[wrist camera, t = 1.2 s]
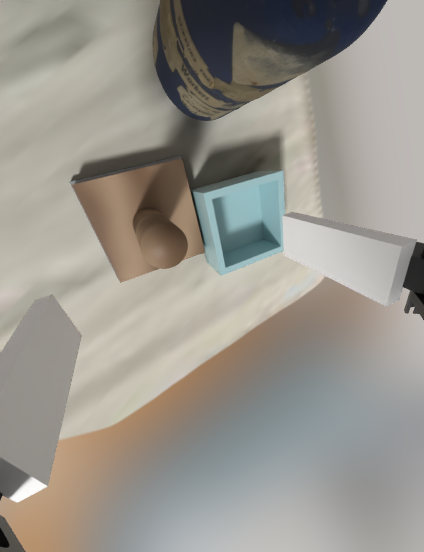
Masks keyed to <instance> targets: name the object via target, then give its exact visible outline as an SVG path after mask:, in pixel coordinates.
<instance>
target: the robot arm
mask: <svg viewBox="0 0 424 552" xmlns="http://www.w3.org/2000/svg"><path fill="white" fill-rule="evenodd" d="M282 221H283V246H284V256H286V257H288V258H290V259H292V260H294V261H296V262H298V263H300V264H302V265H304V266H306V267H308V268H310V269H312V270H314V271H316V272H318V273H320V274H322V275H324V276H326V277H328V278H330V279H332V280H334V281H336V282H338V283H341V284H342V285H344V286H347V287H348V288H350V289H353V290H354V291H356V292H359V293H360V294H363V295H364V296H366V297H368V298H371V299H372V300H374V301H376V302H378V303H380V304H382V305H385V306H388V305H390V304H392V303H394V302H396V301H398V300H399V299H400V295H401V292H402V288H403V287H404V288H407V289H409V290H410V294H409V296H408V300H407V303H406V306H405V309H404V311H405V313H409V310H410V307H415V309H414V311H413V313H414V314H420V315H421V317H422V318H423V320H424V243H419V242H416V240H415V239H411V238H406V237H402V236H398V235H393V234H389V233H384V232H379V231H375V230H371V229H366V228H361V227H357V226H353V225H348V224H344V223H340V222H335V221H331V220H326V219H322V218H317V217H313V216H308V215H304V214H299V213H295V212H291V213H288V214H285V215H282ZM81 336H82V335H81V334H80V332H79V331H78V330H77V328H76V327H75V325H74V324H73V323H72V321H71V320H70V318H69V317H68V316H67V314H66V313H65V311H64V310H63V309H62V307H61V306H60V304H59V303H58V302H57V300H56V299H55V297H54V296H53V295H49V296H47V297H44V298H41V299H38V300H35V301H34V303H33V304H32V306H31V307H30V309H29V310H28V312H27V313H26V315H25V316H24V318H23V319H22V321H21V322H20V324H19V326H18V327H17V329H16V330H15V332H14V333H13V335H12V336H11V338H10V339H9V341H8V342H7V344H6V345H5V347H4V349H3V350H2V352H1V353H0V500H1V497H2V495H3V496H5V497H7V498H9V499H11V500H13V501H15V502H19V501H21V500H23V499H25V498H27V497H29V496H31V495H32V494H34V493H36V492H38V491H40V490H42V489H44V488H45V487H47V486H48V483H49V479H50V474H51V470H52V465H53V461H54V456H55V452H56V447H57V443H58V439H59V434H60V430H61V425H62V421H63V416H64V412H65V407H66V403H67V398H68V394H69V390H70V385H71V381H72V376H73V372H74V367H75V363H76V358H77V354H78V349H79V345H80V341H81ZM0 552H25V550H24V549H23V547H22V545H21V544H20V542H19V541H18V539H17V537H16V536H15V534H14V532H13V531H12V529H11V528H10V526H9V524H8V523H7V521H6V519H5V518H4V517H2V516H1V515H0Z"/></svg>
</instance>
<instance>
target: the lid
mask: <svg viewBox="0 0 424 552" xmlns="http://www.w3.org/2000/svg"><path fill="white" fill-rule="evenodd" d="M72 186H73V188H74V190H75V192H76V194H77V196H78V198H79V200H80V202H81V204H82V206H83V208H84V210H85V212H86V214H87V216H88V218H89V220H90V222H91V224H92V226H93V228H94V230H95V232H96V234H97V236H98V238H99V240H100V242H101V244H102V246H103V248H104V250H105V252H106V254H107V256H108V258H109V260H110V262H111V264H112V266H113V268H114V270H115V272H116V274H117V277H118V279H119V281H120V283H121V282H124V281H127V280H129V279H132V278H135V277H138V276H140V275H143V274H146V273H149V272H151V271H154V270H157V269H160V268H161V269H167V268H171V267H174V266H176V265H178V264H179V263H180V262H181V261H182V260H185V259H187V258H190V257H193V256H196V255H198V254H201V253H204V252H205V250H204V246H203V242H202V238H201V234H200V229H199V225H198V221H197V217H196V213H195V209H194V205H193V201H192V196H191V192H190V188H189V184H188V180H187V176H186V172H185V168H184V164H183V159H177V160H173V161H169V162H165V163H161V164H156V165H152V166H148V167H144V168H140V169H136V170H131V171H127V172H123V173H119V174H115V175H111V176H106V177H102V178H98V179H94V180H90V181H86V182H81V183H77V184H73V185H72Z"/></svg>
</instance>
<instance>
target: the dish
mask: <svg viewBox="0 0 424 552" xmlns="http://www.w3.org/2000/svg"><path fill="white" fill-rule="evenodd" d="M190 192H191V196H192V201H193V205H194V209H195V213H196V217H197V221H198V225H199V229H200V234H201V238H202V242H203V246H204V250H205V252H204V253H205V257H206V261H207V263H208V264H209V265H210V266H211V267H212V268H214V269H215V270H216V271H217V272H218V273H219V274H220V275H221V276H222V275H224V274H227V273H229V272H232V271H234V270H237V269H239V268H242V267H244V266H247V265H249V264H252V263H254V262H257V261H259V260H262V259H264V258H267V257H269V256H272V255H274V254H277V253H279V252H282V251H284V246H283V221H282V215H285V202H284V173H283V170H277V171H257V172H253V173H250V174H246V175H242V176H239V177H235V178H232V179H228V180H225V181H221V182H217V183H214V184H210V185H207V186H203V187H200V188H196V189H193V190H190Z"/></svg>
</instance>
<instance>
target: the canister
mask: <svg viewBox="0 0 424 552" xmlns="http://www.w3.org/2000/svg"><path fill="white" fill-rule="evenodd" d="M386 2H387V0H161V1H160V6H159V9H158V13H157V17H156V21H155V26H154V32H153V56H154V62H155V67H156V70H157V74H158V77H159V79H160V82H161V84H162V86H163V89H164V90H165V92H166V94H167V95H168V97H169V98H170V100H171V101H172V102H173V103H174V104H175V106H176V107H177V108H178V109H180V110H181V111H182V112H183V113H185V114H186V115H188V116H190V117H192V118H194V119H197V120H202V121H210V120H215V119H218V118H221V117H223V116H225V115H226V114H228V113H230V112H232V111H234V110H236V109H239V108H240V107H241V106H243V105H245V104H247V103H249V102H251V101H252V100H255V99H258V98H260V97H262V96H264V95H265V94H267V93H269V92H271V91H272V90H274V89H276V88H278V87H280V86H281V85H283V84H285V83H287V82H288V81H290V80H292V79H294V78H296V77H297V76H299V75H301V74H303V73H306V72H307V71H309V70H310V69H312V68H314V67H315V66H317V65H319V64H321V63H323V62H324V61H326V60H328V59H330V58H332V57H333V56H335V55H337V54H338V53H340V52H341V51H343V50H344V49H346V48H347V47H349V46H350V45H351V44H352V43H353V42H354V41H356V40H357V39H358V38H359V37H360V36H361V35H362V34H363V33H364V32H365V31H366V29H367V28H368V27H369V26H370V24H371V23H372V22H373V21H374V20H375V18H376V17H377V15H378V14H379V13H380V11H381V10H382V8H383V6H384V5H385V3H386Z"/></svg>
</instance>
